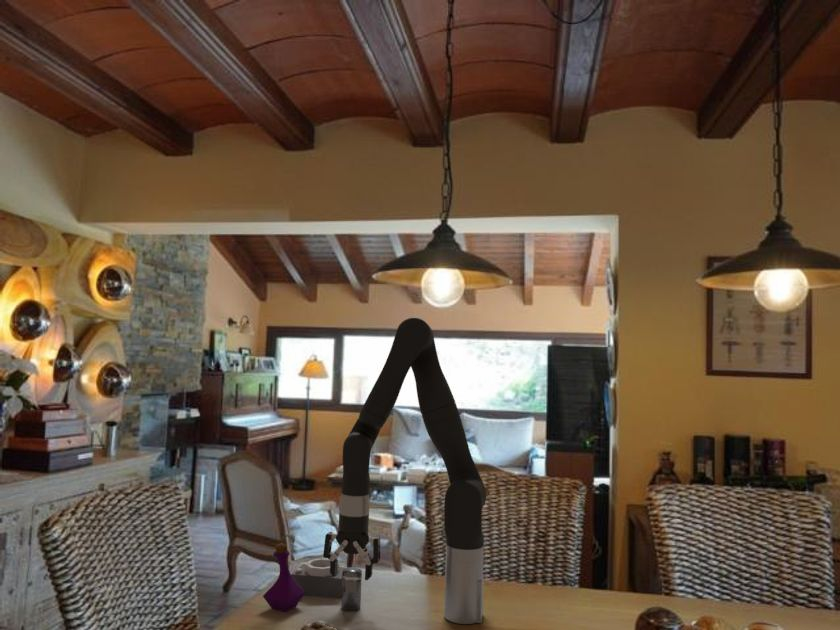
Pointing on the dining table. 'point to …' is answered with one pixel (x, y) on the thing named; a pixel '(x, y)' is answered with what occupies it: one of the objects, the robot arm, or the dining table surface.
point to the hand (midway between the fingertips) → (350, 577)
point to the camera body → (319, 579)
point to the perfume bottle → (284, 582)
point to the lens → (351, 589)
